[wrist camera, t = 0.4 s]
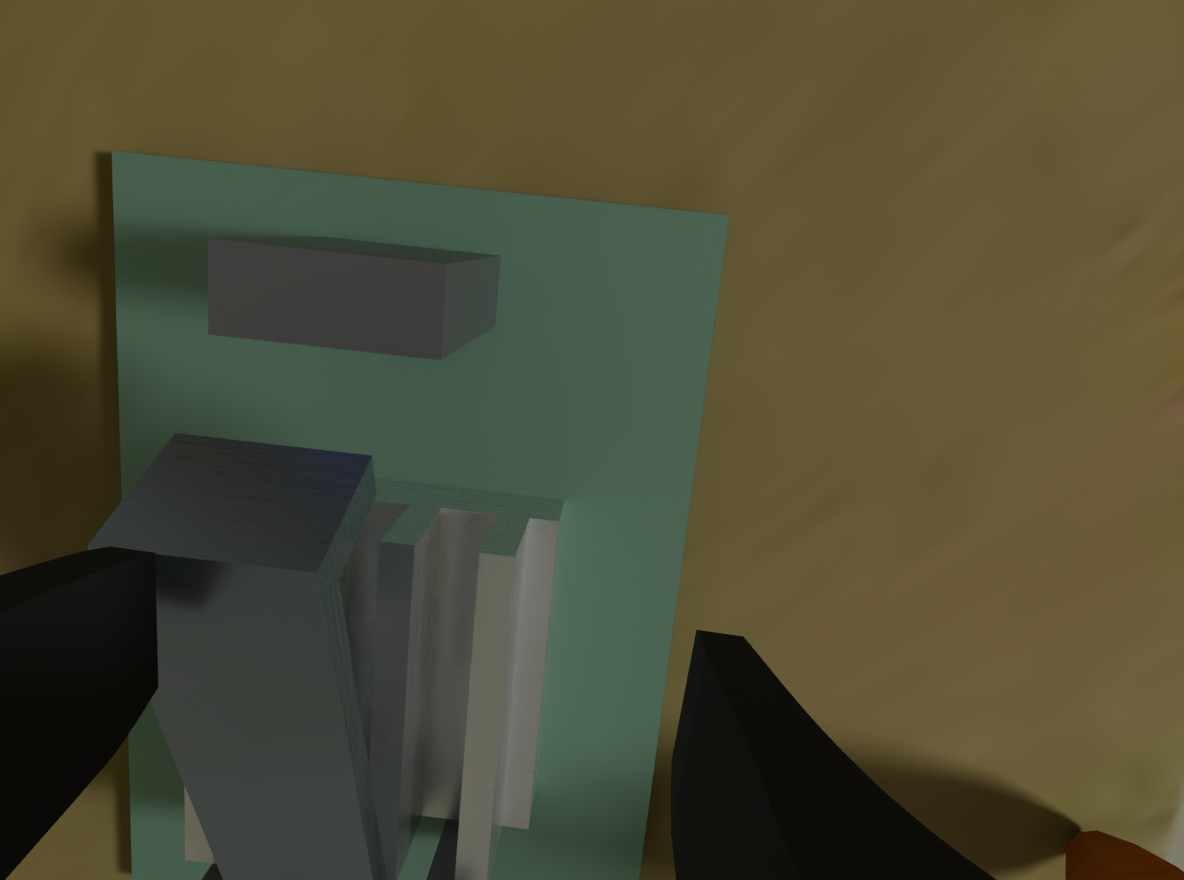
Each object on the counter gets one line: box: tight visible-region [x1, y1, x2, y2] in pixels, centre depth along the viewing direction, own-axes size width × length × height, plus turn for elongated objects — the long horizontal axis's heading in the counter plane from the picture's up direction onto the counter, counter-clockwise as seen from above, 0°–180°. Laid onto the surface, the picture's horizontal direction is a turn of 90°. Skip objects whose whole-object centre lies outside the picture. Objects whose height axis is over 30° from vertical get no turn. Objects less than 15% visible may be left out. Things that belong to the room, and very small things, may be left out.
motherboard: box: [112, 151, 729, 880], centre depth 22 cm, size 20×14×1 cm
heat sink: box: [184, 478, 565, 880], centre depth 20 cm, size 8×8×4 cm
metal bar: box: [87, 433, 387, 880], centre depth 16 cm, size 13×3×3 cm, turn 175°
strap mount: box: [202, 237, 501, 880], centre depth 19 cm, size 15×6×6 cm, turn 174°
